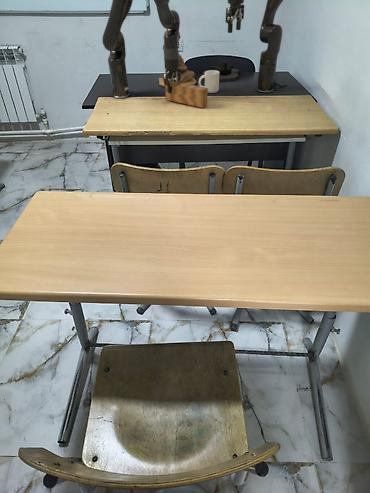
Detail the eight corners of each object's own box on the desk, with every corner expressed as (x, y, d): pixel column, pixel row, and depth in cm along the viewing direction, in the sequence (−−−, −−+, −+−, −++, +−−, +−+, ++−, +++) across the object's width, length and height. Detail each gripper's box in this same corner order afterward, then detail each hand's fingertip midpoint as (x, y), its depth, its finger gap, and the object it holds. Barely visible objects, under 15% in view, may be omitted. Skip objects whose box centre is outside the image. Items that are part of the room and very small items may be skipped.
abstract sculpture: (206, 66, 216) (199, 58, 231) (206, 82, 222) (199, 74, 237) (246, 63, 219) (237, 56, 234) (245, 79, 224) (236, 71, 240)
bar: (165, 99, 197) (164, 82, 191) (170, 97, 200) (170, 80, 194) (202, 107, 186) (202, 90, 181) (207, 105, 189) (207, 87, 184)
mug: (199, 94, 205) (199, 75, 198) (197, 89, 211) (197, 71, 204) (220, 92, 206) (220, 73, 199) (217, 88, 212) (217, 69, 205)
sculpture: (197, 88, 213) (196, 30, 194) (156, 89, 214) (152, 31, 194) (196, 75, 234) (196, 22, 215) (159, 76, 235) (156, 23, 215)
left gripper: (169, 61, 177) (170, 96, 188) (185, 55, 186) (185, 89, 197) (157, 59, 180) (159, 94, 191) (173, 53, 189) (174, 87, 200)
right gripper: (236, -8, 160) (234, 34, 170) (250, -11, 169) (247, 29, 179) (221, -8, 163) (220, 33, 173) (236, -11, 172) (234, 28, 182)
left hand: (172, 91), depth 194 cm, fingers closed on bar, 4 cm apart
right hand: (234, 31), depth 176 cm, fingers open, 8 cm apart
